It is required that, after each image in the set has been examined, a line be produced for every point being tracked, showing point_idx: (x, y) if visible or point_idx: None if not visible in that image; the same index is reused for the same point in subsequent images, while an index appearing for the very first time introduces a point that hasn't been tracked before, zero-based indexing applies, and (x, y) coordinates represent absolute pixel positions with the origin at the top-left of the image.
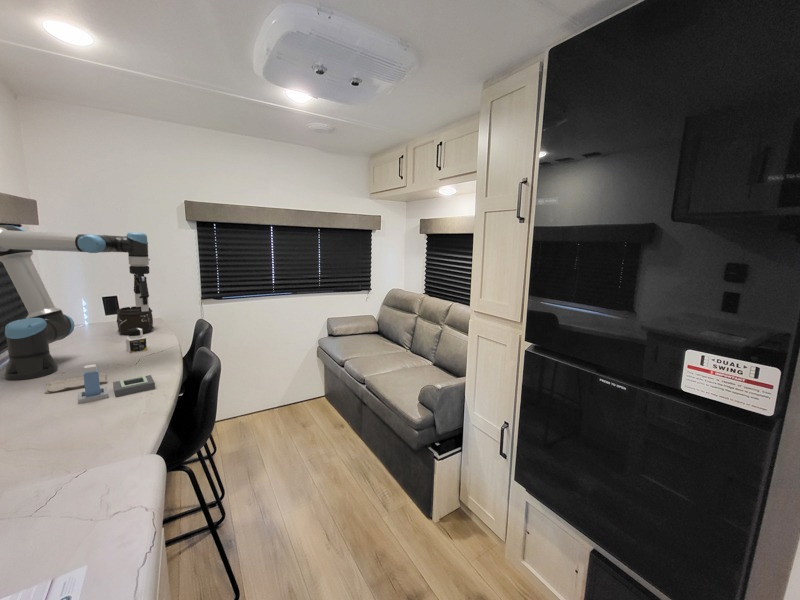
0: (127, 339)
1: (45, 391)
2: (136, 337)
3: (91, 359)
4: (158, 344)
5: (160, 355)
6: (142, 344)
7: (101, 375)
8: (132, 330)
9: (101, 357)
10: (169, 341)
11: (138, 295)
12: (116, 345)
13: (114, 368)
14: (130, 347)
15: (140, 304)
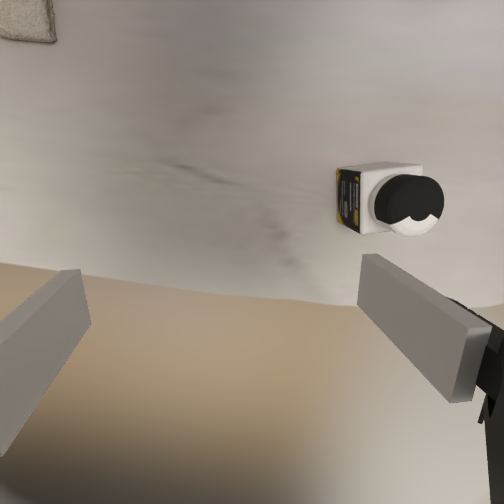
0: (392, 167)
1: None
2: (372, 201)
3: (348, 30)
4: None
5: (237, 249)
6: (348, 214)
7: (10, 14)
8: (400, 194)
9: (351, 68)
10: None
11: (441, 350)
12: (485, 140)
13: (161, 87)
14: (347, 171)
15: (368, 299)
